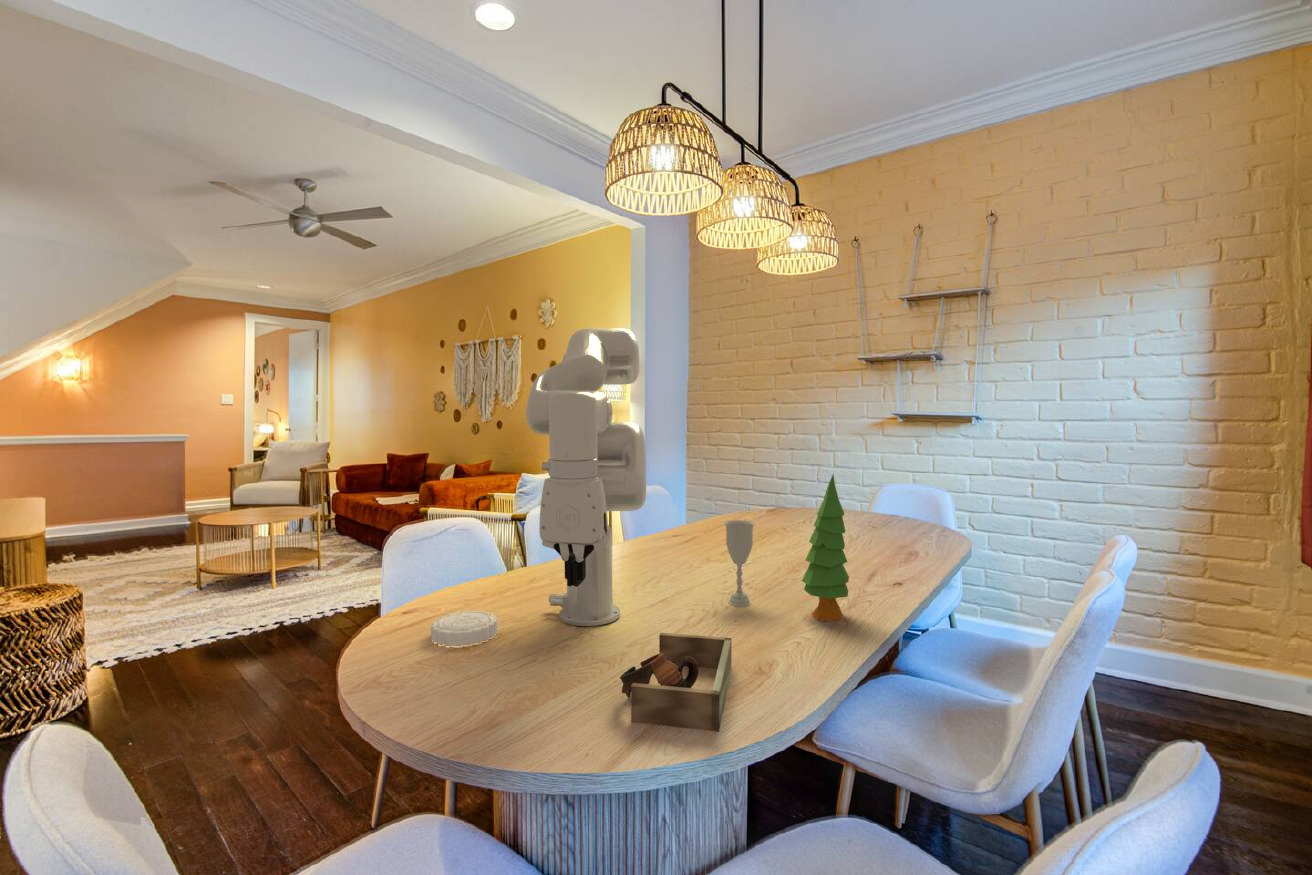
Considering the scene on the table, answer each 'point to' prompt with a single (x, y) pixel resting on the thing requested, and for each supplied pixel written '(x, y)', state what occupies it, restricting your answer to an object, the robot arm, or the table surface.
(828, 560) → the decorative tree
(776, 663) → the table surface
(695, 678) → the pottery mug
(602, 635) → the table surface
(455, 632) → the mooncake
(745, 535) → the chalice
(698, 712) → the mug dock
